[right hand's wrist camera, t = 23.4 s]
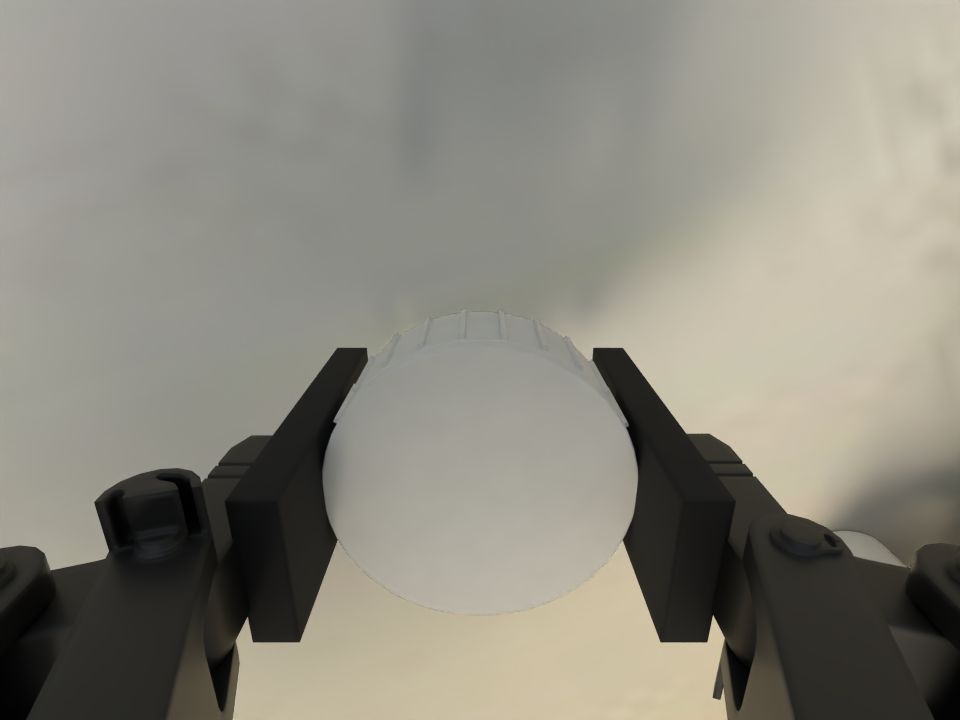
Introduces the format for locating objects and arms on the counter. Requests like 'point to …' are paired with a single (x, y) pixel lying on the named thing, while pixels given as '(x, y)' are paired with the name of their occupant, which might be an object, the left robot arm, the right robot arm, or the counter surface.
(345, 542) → the lid
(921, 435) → the counter surface
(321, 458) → the right robot arm
